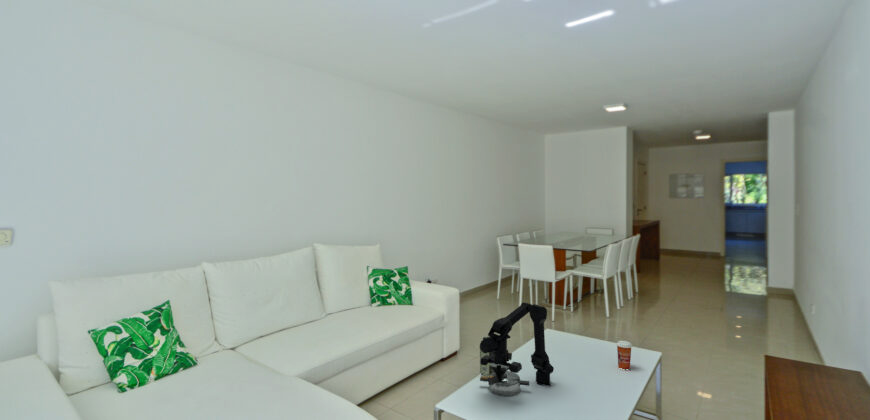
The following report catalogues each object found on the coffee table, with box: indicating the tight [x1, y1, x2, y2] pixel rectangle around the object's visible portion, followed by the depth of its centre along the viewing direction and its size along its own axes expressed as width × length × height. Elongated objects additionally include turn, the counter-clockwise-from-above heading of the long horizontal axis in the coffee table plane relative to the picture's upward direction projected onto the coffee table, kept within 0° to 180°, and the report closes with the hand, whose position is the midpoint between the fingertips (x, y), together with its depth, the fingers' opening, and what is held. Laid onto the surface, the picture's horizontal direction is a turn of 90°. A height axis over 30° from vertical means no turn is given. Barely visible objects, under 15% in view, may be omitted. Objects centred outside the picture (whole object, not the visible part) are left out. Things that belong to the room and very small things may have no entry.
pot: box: [479, 375, 530, 398], centre depth 200 cm, size 24×15×5 cm, turn 76°
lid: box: [487, 370, 521, 386], centre depth 198 cm, size 19×15×5 cm
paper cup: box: [616, 340, 633, 370], centre depth 224 cm, size 8×8×14 cm
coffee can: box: [479, 345, 495, 377], centre depth 219 cm, size 10×10×14 cm
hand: (500, 381), depth 191 cm, fingers closed
